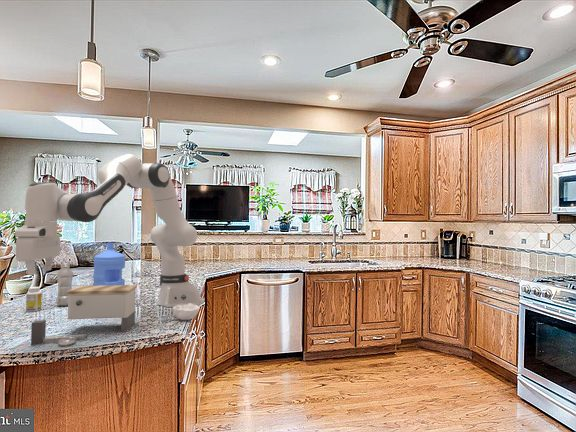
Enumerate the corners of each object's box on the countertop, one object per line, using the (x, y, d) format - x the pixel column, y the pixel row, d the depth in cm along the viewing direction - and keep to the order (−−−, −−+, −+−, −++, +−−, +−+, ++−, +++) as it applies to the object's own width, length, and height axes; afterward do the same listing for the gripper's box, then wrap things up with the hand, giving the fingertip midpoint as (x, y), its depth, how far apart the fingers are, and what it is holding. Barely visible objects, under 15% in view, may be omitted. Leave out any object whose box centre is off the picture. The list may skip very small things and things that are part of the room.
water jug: (86, 295, 185) (87, 243, 186) (106, 290, 201) (107, 241, 201) (112, 297, 183) (113, 244, 183) (130, 291, 198) (131, 242, 199)
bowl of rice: (184, 314, 151) (185, 298, 151) (205, 318, 145) (205, 302, 145) (165, 319, 142) (166, 303, 142) (186, 324, 136) (187, 307, 136)
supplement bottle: (39, 308, 158) (40, 285, 158) (43, 310, 154) (43, 287, 154) (24, 310, 154) (25, 287, 154) (27, 312, 150) (28, 289, 150)
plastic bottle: (64, 307, 159) (65, 264, 160) (52, 306, 161) (53, 263, 161) (76, 304, 166) (77, 262, 166) (64, 303, 167) (65, 262, 167)
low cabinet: (136, 323, 137) (137, 284, 137) (127, 332, 125) (128, 291, 125) (78, 324, 133) (79, 285, 134) (63, 335, 121) (64, 292, 122)
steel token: (77, 341, 116) (77, 336, 116) (73, 346, 111) (73, 341, 111) (60, 343, 114) (60, 338, 114) (55, 348, 110) (55, 343, 110)
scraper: (87, 337, 119) (88, 317, 119) (85, 340, 116) (85, 319, 116) (34, 341, 114) (35, 320, 115) (30, 344, 112) (31, 323, 112)
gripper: (47, 229, 124) (46, 268, 124) (11, 231, 104) (10, 277, 103) (66, 229, 125) (65, 268, 125) (34, 231, 105) (33, 277, 105)
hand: (39, 272), depth 114 cm, fingers open, 8 cm apart
